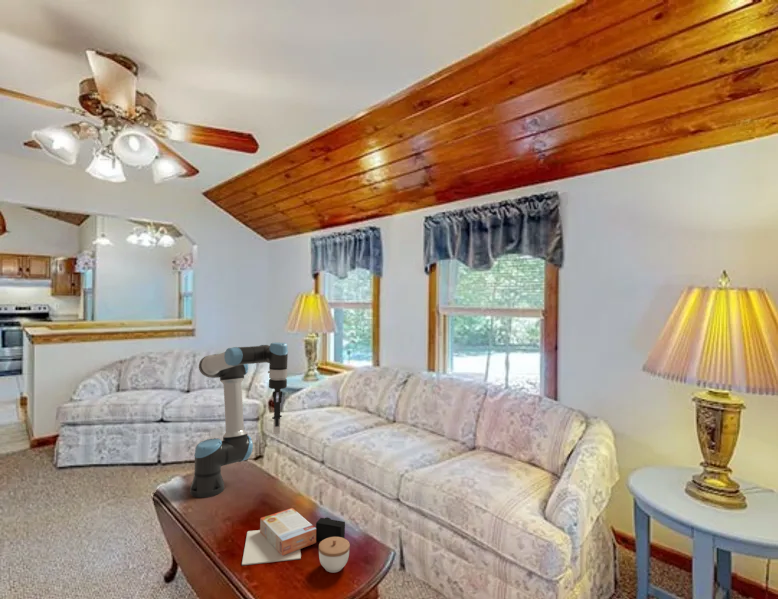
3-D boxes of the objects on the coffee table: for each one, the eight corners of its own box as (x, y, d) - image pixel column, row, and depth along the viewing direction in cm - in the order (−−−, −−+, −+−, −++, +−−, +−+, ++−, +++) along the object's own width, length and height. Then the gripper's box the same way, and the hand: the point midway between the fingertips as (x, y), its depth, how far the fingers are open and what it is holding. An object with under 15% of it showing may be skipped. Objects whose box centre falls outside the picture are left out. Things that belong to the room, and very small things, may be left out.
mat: (247, 532, 171) (247, 531, 171) (299, 527, 176) (299, 526, 176) (241, 565, 150) (241, 564, 150) (300, 558, 154) (300, 557, 154)
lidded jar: (319, 558, 155) (320, 532, 155) (349, 557, 156) (350, 531, 156) (316, 577, 144) (317, 549, 144) (349, 576, 145) (349, 548, 145)
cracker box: (259, 532, 171) (281, 557, 154) (259, 517, 171) (282, 540, 154) (292, 521, 179) (316, 543, 163) (292, 507, 179) (317, 527, 163)
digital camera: (346, 538, 169) (346, 520, 169) (340, 545, 163) (341, 526, 163) (321, 533, 171) (321, 515, 171) (315, 540, 166) (316, 522, 166)
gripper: (269, 376, 193) (268, 429, 193) (268, 381, 180) (266, 438, 180) (286, 375, 194) (285, 428, 194) (286, 381, 182) (285, 437, 182)
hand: (276, 433), depth 187 cm, fingers closed
